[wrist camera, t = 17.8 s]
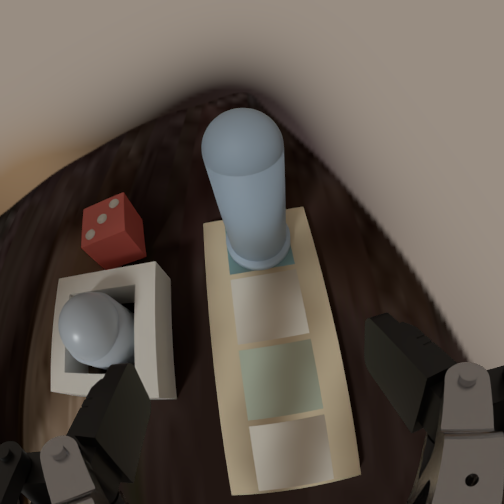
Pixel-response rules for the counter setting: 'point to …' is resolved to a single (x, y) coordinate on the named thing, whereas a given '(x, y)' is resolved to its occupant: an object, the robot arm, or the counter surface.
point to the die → (113, 232)
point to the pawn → (249, 185)
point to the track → (278, 368)
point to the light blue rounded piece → (97, 330)
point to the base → (145, 328)
